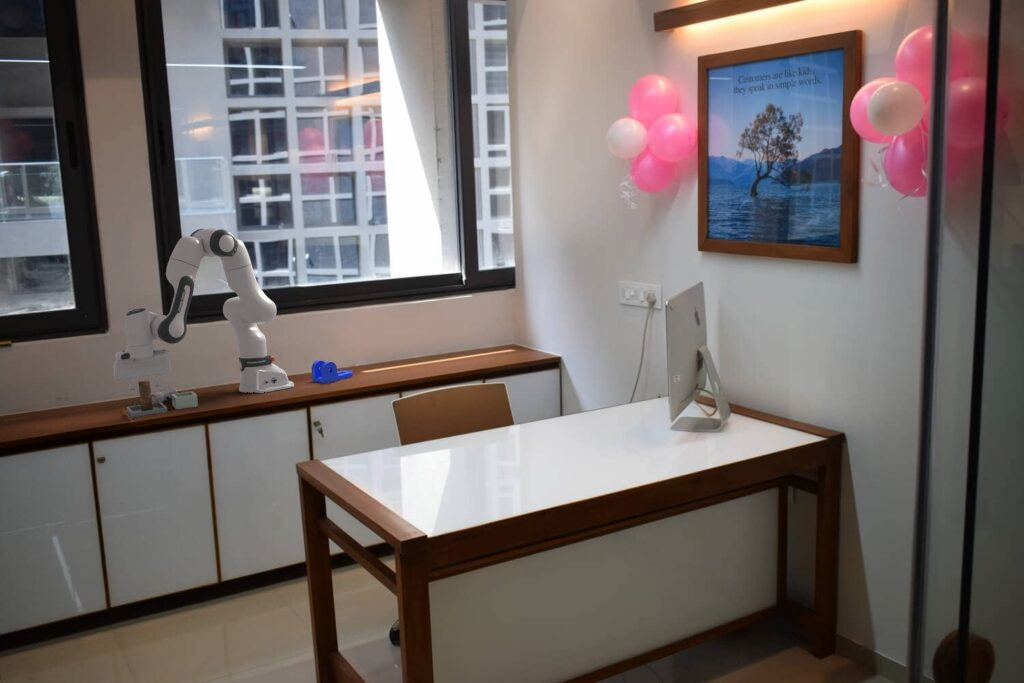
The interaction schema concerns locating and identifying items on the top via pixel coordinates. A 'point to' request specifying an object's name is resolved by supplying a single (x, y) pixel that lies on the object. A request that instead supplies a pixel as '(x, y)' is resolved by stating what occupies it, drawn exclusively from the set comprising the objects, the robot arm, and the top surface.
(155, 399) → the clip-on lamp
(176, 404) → the sage pot
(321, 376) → the bracket
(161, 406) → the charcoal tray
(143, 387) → the walnut dowel
